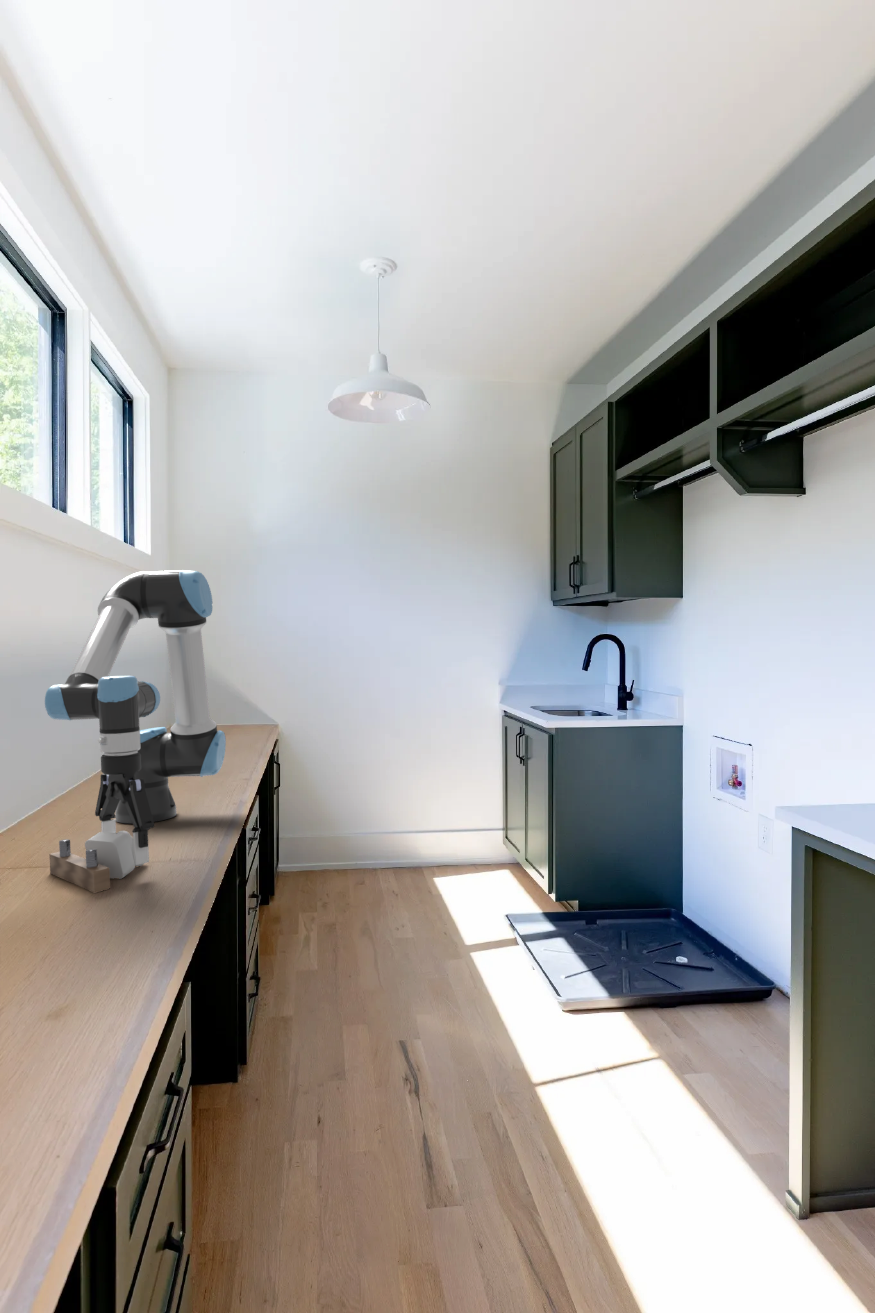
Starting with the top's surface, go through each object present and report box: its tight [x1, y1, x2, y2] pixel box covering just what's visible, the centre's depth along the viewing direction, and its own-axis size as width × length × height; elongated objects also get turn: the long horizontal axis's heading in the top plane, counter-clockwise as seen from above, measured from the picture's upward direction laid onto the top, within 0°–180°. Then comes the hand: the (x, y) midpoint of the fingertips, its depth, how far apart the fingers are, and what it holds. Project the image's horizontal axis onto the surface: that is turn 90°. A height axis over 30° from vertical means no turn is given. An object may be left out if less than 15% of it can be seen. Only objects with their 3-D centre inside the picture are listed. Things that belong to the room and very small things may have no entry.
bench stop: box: [48, 839, 111, 894], centre depth 159 cm, size 20×3×7 cm, turn 47°
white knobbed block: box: [84, 830, 145, 880], centre depth 165 cm, size 8×10×10 cm
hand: (125, 857), depth 164 cm, fingers open, 13 cm apart
